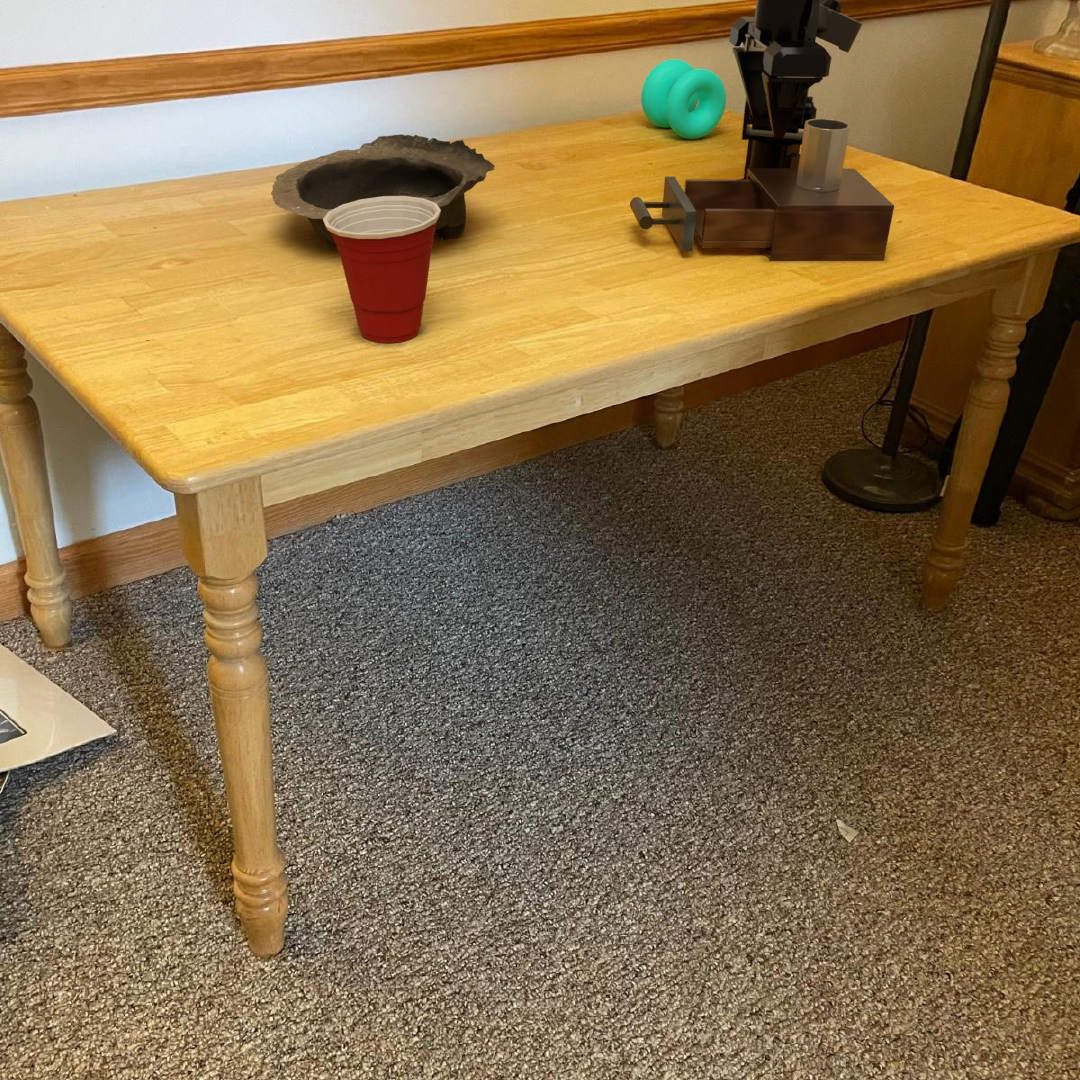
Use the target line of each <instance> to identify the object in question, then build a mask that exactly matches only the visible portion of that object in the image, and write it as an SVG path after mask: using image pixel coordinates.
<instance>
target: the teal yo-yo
mask: <svg viewBox="0 0 1080 1080" xmlns="http://www.w3.org/2000/svg"><path fill="white" fill-rule="evenodd" d="M640 95H641V96H640V97H641V101H640V102H641V108H642V111H643V114H644V115H645V117H646V118H647V120H648V121H649V122H651V123H652V124H653V125H655V126H657V127H659V128H665V129H668V128H669V129H670V128H671V129H672V131H673V132H674V133H675V134H677V136H679V137H681V138H683V139H687V140H697V139H700V138H703V137H705V136H707V135H709V134H710V133H711V132H712V131H713V130H714V129H715V128H716V127H717V126H718V125H719V123H720V122H721V119H722V118H723V115H724V113H725V110H726V105H727V92H726V88H725V85H724V82H723V81H722V79H721V78H720V77H719V76H718V75H717V73H715V72H713V71H712V70H711V69H707V68H694V67H693V66H692V65H691V64H690V63H689V62H686V61H685V60H682V59H679V58H669V59H666V60H664V61H662V62H660V63H658V64H657V65H655V66H654V67H653V68H652V69H651V70H650V72H649V73H648V74H647V76H646V78H645V80H644V82H643V85H642V89H641V94H640Z"/></svg>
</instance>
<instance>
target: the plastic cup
mask: <svg viewBox="0 0 1080 1080" xmlns="http://www.w3.org/2000/svg"><path fill="white" fill-rule="evenodd" d="M440 212H441V210H440V208H439V207H438V205H437V204H436V203H434V202H432V201H429V200H426V199H424V198H417V197H409V196H382V197H375V198H368V199H361V200H357V201H354V202H350V203H347V204H343V205H341V206H339V207H337V208H335V209H333V210H331V211H329V212H328V213H327V214H326V216H325V217H324V218H323V221H324V223H325V226H326V228H327V230H328V231H330V232H331V234H332V236H333V238H334V240H335V246H336V248H337V250H338V253H339V256H340V257H339V258H340V260H341V265H342V269H343V274H344V277H345V281H346V285H347V289H348V293H349V296H350V300H351V303H352V306H353V310H354V314H355V318H356V323H357V327H358V330H359V332H360V334H361V336H362V337H363V338H365V339H366V340H368V341H372V342H376V343H381V344H382V343H385V344H395V343H402V342H405V341H409V340H411V339H413V338H415V337H417V336H418V333H419V332H420V327H421V325H422V320H423V319H422V318H423V311H424V304H425V302H424V301H425V300H426V296H427V288H428V280H429V274H430V273H429V272H430V264H431V256H432V249H433V244H434V238H435V234H434V233H435V226H436V223H437V220H438V218H439V216H440Z"/></svg>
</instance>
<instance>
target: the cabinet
mask: <svg viewBox="0 0 1080 1080" xmlns="http://www.w3.org/2000/svg"><path fill="white" fill-rule="evenodd" d="M797 173H798V168H748V169H747V177H746V179H752V180H753V182H754V183H755V184H756V185H757V187H758V188H759V189H760V190H761V192H762V193H763V194H764V195H765V196H766V198H767V199H768V200H769V201H770V203H771V204H772V205H773V206H774V208H775V209H776V213H775V220H774V227H773V234H772V241H771V248H761V250H762V251H763V252H764V254H765V255H766V257H767V258H768V259H769V261H770V262H771V261H772V262H775V261H777V262H779V261H783V262H786V261H787V262H789V261H790V262H791V261H797V262H798V261H801V262H803V261H806V262H807V261H809V262H810V261H811V262H813V261H814V262H815V261H884V260H885V256H886V250H887V245H888V239H889V235H890V230H891V225H892V220H893V215H894V211H895V210H894V209H895V204H893V202H891V201H890V200H889V198H888V197H886V196H885V195H884V194H883V193H882V192H880V191H879V190H878V189H877V188H876V187H875V186H874V185H873V184H872V183H871V182H870V181H868V180H867V179H866V177H864V176H863V175H862V174H861V172H859V171H858V170H857V169H856V168H843V170H842V176H841V182H840V188H839V189H838V190H836V191H832V192H815V191H809V190H805V189H802V188H800V187H798V186H797V185H796V180H797Z"/></svg>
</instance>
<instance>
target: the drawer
mask: <svg viewBox="0 0 1080 1080" xmlns="http://www.w3.org/2000/svg"><path fill="white" fill-rule="evenodd" d="M663 183H664V185H663V194H662V201H644V200H643V199H642V198H641V197H640V196H635V197H633V198H631V200H630V202H629V207H630V209H631V211H632V213H633V216H634V217H635V220H636V221H637V223H638V225H639V228H640V229H642V230H644V231H646V230H650V229H651V228H652V227H653V226H654V225H656V226H659V225H660V226H661V225H662V226H666V225H667V227H668V229H669V231H670V232H671V234H672V236H673V238H674V239H675V242H676V243H677V245H678V248H679V249H680V250H681V252H682V253H693V250H694V240H695V238H696V240H697V242H698V243H699V246H701V248H702V249H745V248H746V249H760V248H761V249H762V248H771V241H772V234H773V227H774V220H775V213H776V209H775V208H774V206H773V205H772V204H771V203H770V201H769V200H768V199H767V198H766V196H765V195H764V194H763V193H762V192H761V190H760V189H759V188H758V187H757V185H756V184H755V183H754V182H753V180H752V179H741V178H731V179H730V178H726V179H725V178H724V179H723V178H719V179H717V178H686V179H684V189H683V188H682V186H681V185H680V183H679V181H678V180H677V178H676V177H675V176H672V175H671V176H669V175H668V176H666V175H665V176H664V182H663ZM648 209H661V216H662V217H652V215H651V214H650V212H649V210H648Z"/></svg>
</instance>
